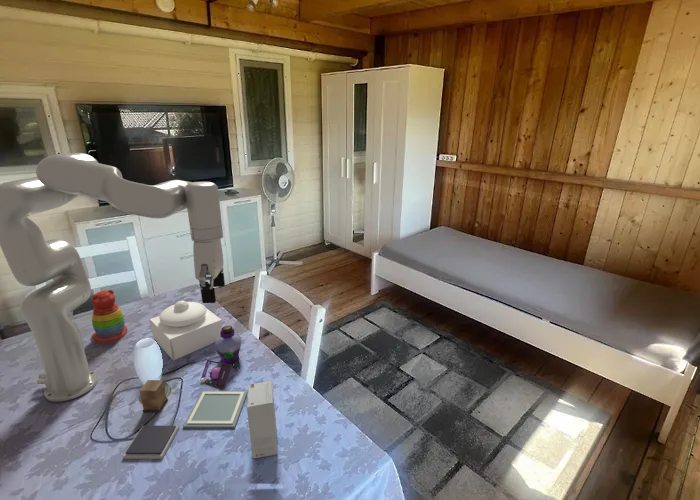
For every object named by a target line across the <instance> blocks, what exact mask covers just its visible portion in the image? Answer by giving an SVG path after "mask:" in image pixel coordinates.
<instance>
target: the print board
mask: <svg viewBox="0 0 700 500" xmlns="http://www.w3.org/2000/svg"><path fill="white" fill-rule="evenodd" d="M247 395H248V390H201V392H200V393H199V395H198V397H197V399H196V401H195V402H194V405H193V407H192V409H191V410H190V412H189V414H188V416H187V418H186V420H185V421H184V424H183V425H182V428H183V429H236V426H237V423H238V420H239V418H240V415H241V413H242V409H243V406H244V404H245V402H246V398H247Z"/></svg>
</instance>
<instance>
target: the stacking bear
mask: <svg viewBox="0 0 700 500" xmlns="http://www.w3.org/2000/svg"><path fill="white" fill-rule="evenodd" d="M114 293H115V292H114V290H112V289H108V290H101V291H99V292H98V291H97V292H96V293H94V294H92V296H91V303H92V306H93V307H94V309H93V311H92V312H93V313H92V315H91V316H92V317H91V325H92V327H93V330H94V332H93V333H92V335H91V340H92V339H93V340H94V341H93V342H95V343H97V342H98V344H111V343H115V342H117V341H119V340H121V339H123V338H124V337H126V335H127V333H128V327H127V325H126V324H125V317H124V314H123V312H122V309H121V308H120V307H119V306H118V305H117V304H116V296H115V294H114Z"/></svg>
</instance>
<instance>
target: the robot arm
mask: <svg viewBox="0 0 700 500" xmlns="http://www.w3.org/2000/svg"><path fill="white" fill-rule="evenodd" d="M35 174H36V176H34V177H28V178H21V179H15V180H11V181H6V182H3V183H0V249H1V251H2V254H3V255H4V257H5V259H6V262H7V264H8V267H9V270H10V271H11V274H12V275H13V277H14V278H15V280H16V282H18V283H19V284H21V285H22V286H24V287H34V286H35V287H36V286H38V285H41V284H44V283H46V282H48V281H50V280H53V281H51V282H49V283H47V284H45V285H42V286H41V287H39V288H38V289H36V290H34V291H33V292H31V293H30V294H28V295H27V296H26V297H25V298H24V300H23V301H22V302H21V305H20V312H21V315H22V317H23V319H24V320H25V323H27V325H28V327H29V329H30V331H31V332H32V335H33V337H34V340H35V344H36V347H37V349H38V354H39V357H40V359H41V362H42V366H43V369H44V372H43V371H41V372H40V373H39V375H38V379H37V380H36V384H38V385H45V387H46V388H45V389H44V391H43V393H44V394H43V395H44V397H45V399H46V400H47V401H49V402H56V403H57V402H65V401H70V400H73V399H76V398H79V397H81V396H82V395H84V394H87V393H88V392H89V391H91V390H92V389H93V388H94V387H95V386H96V384H97V383H98V381H99V376H98V374H97V372H96V371H93V370H90V368H89V363H88V359H87V355H86V351H85V349H84V348H85V347H84V344H83V340H82V336H81V333H80V329H79V327H78V325H77V324H76V322H74V321H72V320H71V318H70V317H69V316H70V314H71V313H72V312H73V311H75V310H76V309H78V308H79V307H80V306H82V305H83V304H84V303H86V302H88V300H89V299H90V297H91V295H92V285H91V283H90V279H89V278H88V275H87V272H86V269H85V266H84V264H83V261H82V259H81V256H80V253H79V252H78V250H77V249H76V248H75V247H74V246H73V245H72V244H71V243H70V242H68V241H66V240H63V239H60V238H59V239H58V238H57V239H56V238H54V239H53V238H52V239H48V240H45V237H44V234H43V232H42V229H40V227H39V226H38V225H37V224H36V223H35V222H34V221H33V220H32V219H30V218H29V216H31V215H36V214H39V213H42V212H43V213H44V212H47V211H50V210H53V209H57V208H60V207H62V206H64V205H66V204H68V203H70V202H72V201H73V200H75V198H78V197H79V196H80V197H87V198H91V199H93V200H98V201H99V200H100V201H103V202H107V203H108V204H109V205H110V206H111V207H113V208H115V209H116V210H119V211H121V212H122V213H125V214H130V215H135V216H138V217H144V218H150V219H166V218H169V217H170V216H172V215H174V214H177V213H178V212H181V211H184V210H186V209H187V215H188V223H189V231H190V237H191V238H190V239H191V241H193V244H192V245H193V247H192V249H193V266H194V276H195V277H194V278H195V280H198V282H199V287H200V288H199V290H200V294H201V301H202V304H214V303H216V302H217V299H216V291H215V288H218V287H219V288H221V287H222V288H223V287H225V286H226V283H225V273H224V257H223V256H224V253H223V247H222V240H221V239H223V238H224V232H223V223H222V222H223V221H222V212H221V211H222V210H221V203H220V202H221V201H220V194H219V188H218V185H217V184H216V183H214V182H211V181H193V182H192V181H186V180H180V179H172V180H171V179H170V180H167V181H164V182H160V183H157V184H154V185H152V184H151V185H150V184H145V183H140V182H139V183H138V182H134V181H131V180H128V179H125V178H123V175H122V172H121V171H120V169H119V168H117V167H115V166H112V165H108V164H103V163H99V161H98V160H97V158H94V157H93V156H91V155H90V154H87V153H83V152H72V153H62V154H54V155H48V156H47V157H44V158H43V159H41V160H40V161H39V163H38V164H37V166H36V169H35ZM208 281H209V282H208Z"/></svg>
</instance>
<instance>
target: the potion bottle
mask: <svg viewBox="0 0 700 500" xmlns="http://www.w3.org/2000/svg"><path fill="white" fill-rule="evenodd" d="M220 335H221V337H220V338H219V339H217V340H216V342H214V343H215V344H214V349H216V350H215V351H216V352H217V354H218V355H219V357H220V360H221V362H222V363H225V364H232V363H235V362H236V361H237V360H238V359H239V354H240V350H241V347H242V346H241V345H242V337H241V336H240V335H237V334H235V329H234V328H233V326H232V325H225V326H222V330H221V332H220ZM237 358H238V359H237ZM236 359H237V360H236ZM235 360H236V361H235Z"/></svg>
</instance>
